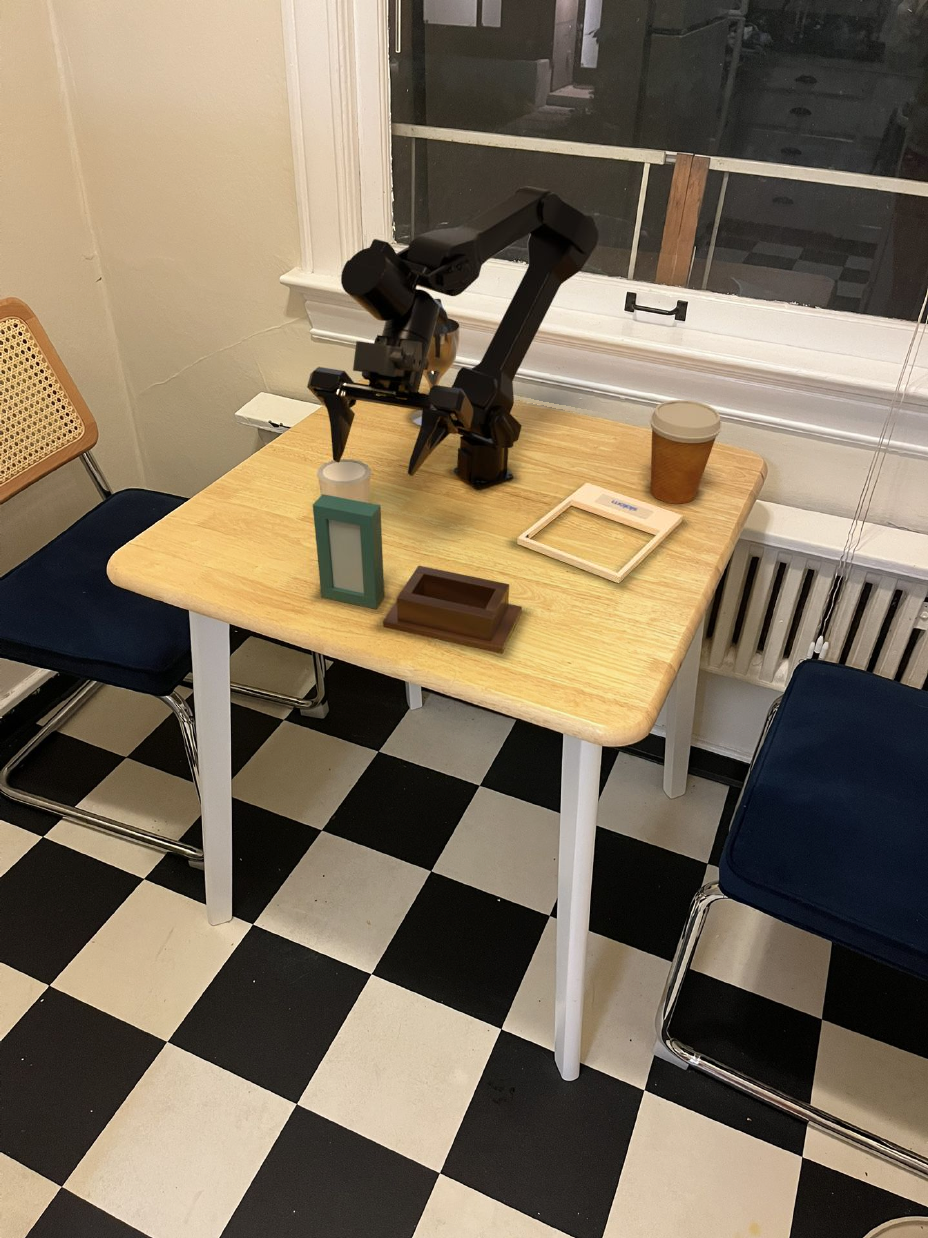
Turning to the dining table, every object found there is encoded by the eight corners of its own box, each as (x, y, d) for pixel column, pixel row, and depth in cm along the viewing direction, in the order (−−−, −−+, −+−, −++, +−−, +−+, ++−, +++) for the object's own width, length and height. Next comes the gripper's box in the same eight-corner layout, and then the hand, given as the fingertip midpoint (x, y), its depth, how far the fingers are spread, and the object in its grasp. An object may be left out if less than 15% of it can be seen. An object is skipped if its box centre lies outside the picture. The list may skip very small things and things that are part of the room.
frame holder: (408, 587, 108) (408, 559, 106) (521, 611, 105) (523, 583, 102) (383, 626, 102) (381, 598, 100) (502, 653, 99) (503, 624, 96)
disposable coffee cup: (705, 479, 131) (721, 401, 124) (708, 513, 123) (726, 432, 116) (639, 473, 132) (651, 395, 125) (638, 506, 125) (650, 425, 117)
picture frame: (330, 585, 108) (322, 493, 101) (384, 597, 107) (380, 505, 99) (321, 597, 106) (312, 504, 99) (376, 609, 105) (371, 516, 97)
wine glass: (403, 426, 143) (401, 332, 134) (414, 405, 149) (412, 314, 140) (453, 430, 142) (454, 336, 133) (461, 409, 148) (463, 318, 139)
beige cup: (364, 534, 118) (362, 486, 113) (314, 527, 119) (309, 480, 114) (379, 507, 123) (377, 461, 119) (330, 501, 124) (326, 455, 120)
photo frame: (683, 514, 121) (620, 575, 109) (681, 521, 121) (618, 583, 110) (586, 481, 127) (517, 536, 115) (586, 488, 128) (517, 543, 116)
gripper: (307, 296, 100) (270, 430, 98) (467, 318, 95) (431, 458, 94) (341, 341, 111) (308, 463, 109) (487, 363, 106) (455, 490, 105)
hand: (372, 467), depth 104 cm, fingers open, 9 cm apart
